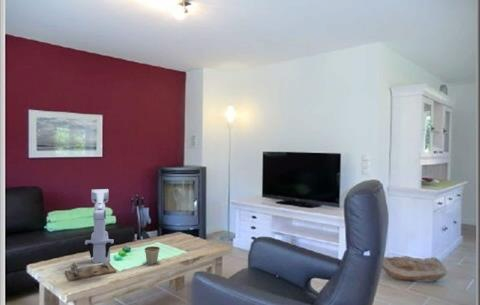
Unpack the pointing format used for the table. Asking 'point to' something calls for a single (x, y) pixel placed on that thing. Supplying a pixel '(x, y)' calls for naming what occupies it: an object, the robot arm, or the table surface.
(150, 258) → the flower pot
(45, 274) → the table surface
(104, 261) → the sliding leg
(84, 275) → the gauge board
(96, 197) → the robot arm
